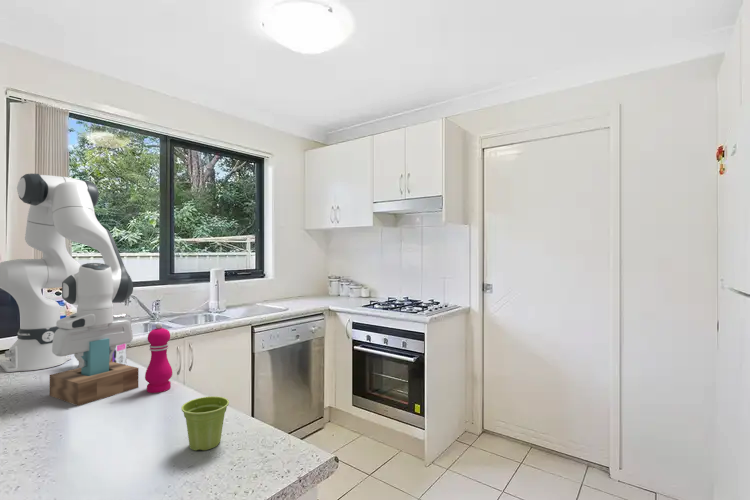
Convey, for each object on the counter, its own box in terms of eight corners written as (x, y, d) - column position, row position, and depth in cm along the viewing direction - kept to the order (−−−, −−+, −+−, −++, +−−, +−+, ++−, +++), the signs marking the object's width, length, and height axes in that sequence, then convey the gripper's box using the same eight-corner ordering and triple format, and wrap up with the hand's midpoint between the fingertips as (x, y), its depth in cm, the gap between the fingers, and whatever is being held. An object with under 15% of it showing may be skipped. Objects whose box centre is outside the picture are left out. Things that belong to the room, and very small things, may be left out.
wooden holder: (49, 395, 111) (49, 374, 111) (109, 379, 126) (109, 361, 126) (78, 405, 104) (78, 383, 104) (138, 387, 118) (138, 367, 118)
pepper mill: (160, 394, 112) (160, 325, 112) (139, 392, 114) (139, 324, 114) (177, 386, 119) (177, 321, 119) (157, 384, 121) (157, 320, 121)
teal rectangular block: (81, 387, 114) (81, 340, 114) (99, 382, 118) (100, 336, 118) (90, 390, 111) (90, 342, 111) (109, 385, 116) (109, 338, 116)
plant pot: (215, 430, 90) (215, 392, 90) (237, 442, 84) (237, 402, 84) (173, 445, 83) (173, 405, 83) (194, 460, 77) (194, 417, 77)
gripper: (125, 312, 126) (125, 354, 125) (49, 322, 107) (49, 371, 107) (137, 313, 123) (136, 357, 123) (60, 324, 105) (60, 375, 104)
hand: (95, 364), depth 115 cm, fingers closed on teal rectangular block, 5 cm apart
